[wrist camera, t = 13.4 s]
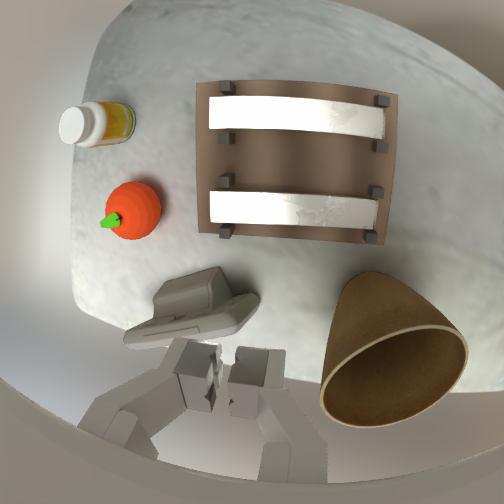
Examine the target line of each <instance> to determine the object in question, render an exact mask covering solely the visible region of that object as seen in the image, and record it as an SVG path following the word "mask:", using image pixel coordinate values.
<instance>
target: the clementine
mask: <svg viewBox="0 0 504 504" xmlns="http://www.w3.org/2000/svg"><path fill="white" fill-rule="evenodd" d="M105 214H106V217H105V218H104V219H103V220H102V221H101V222H100V224H101V227H103V228H111V230H112V231H113V232H114V233H115V234H117V235H118V236H119V237H122V238H124V239H129V240H136V239H140V238H143V237H145V236H147V235H149V234H150V233H151V232H152V231H153V230H154V229H155V227H156V226H157V224H158V222H159V219H160V215H161V204H160V200H159V198H158V196H157V194H156V193H155V191H154V190H153V189H152V188H150V187H149V186H148V185H146V184H143V183H141V182H128V183H124V184H122V185H120V186H119V187H117V188H116V189H115V190H114V191H113V192H112V193H111V195H110V196H109V198H108V200H107V203H106V208H105Z"/></svg>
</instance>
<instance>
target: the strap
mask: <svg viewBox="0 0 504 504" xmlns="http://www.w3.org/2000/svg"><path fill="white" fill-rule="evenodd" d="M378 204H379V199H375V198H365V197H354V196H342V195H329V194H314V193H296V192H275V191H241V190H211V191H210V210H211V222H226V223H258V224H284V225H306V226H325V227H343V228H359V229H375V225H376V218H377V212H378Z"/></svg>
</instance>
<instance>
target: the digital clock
mask: <svg viewBox="0 0 504 504" xmlns="http://www.w3.org/2000/svg"><path fill="white" fill-rule="evenodd" d="M153 303H154V315H153V318H152V319H150V320H148V321H146V322H144V323H141V324H139V325H137V326H135V327H133V328H131V329H129V330H127V331H126V332H125V335H124V338H123V341H124V344H125V345H126V346H128V347H129V348H131V349H132V350H135V349H146V348H154V347H162V346H169V345H170V344H171V342H172V340H173V339H174V338H175V337H177V336H178V337H183V338H188V339H196V340H201V341H202V340H208V339H214V338H219V337H225V336H229V335H233V334H235V333H237V332H238V331H239V330H240V329H241V328H242V327H243V326H244V325H245V323H246V322H247V321H248V320H249V319H250V318H251V317H252V316H253V315H254V313H255V312H256V311H257V309H258V307H259V304H260V300H259V298H258V296H256V295H255V294H253V293H251V292H250V293H246V294H242V295H237V296H233V294H232V292H231V290H230V287H229V285H228V283H227V281H226V279H225V277H224V274H223V272H222V270H221V268H220V267H216V268H212V269H209V270H205V271H202V272H198V273H195V274H192V275H188V276H185V277H181V278H178V279H174V280H171V281H167V282H165V283H164V284H163V285H162V287H161V288H160V289H159V290H158V292H157V293H156V294H155V296H154V298H153Z"/></svg>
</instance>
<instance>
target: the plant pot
mask: <svg viewBox="0 0 504 504" xmlns="http://www.w3.org/2000/svg"><path fill="white" fill-rule="evenodd" d="M467 360H468V346H467V342H466V340H465V339H464V337H463V336H462V334H461V333H460V332H459V331H458V330H457V329H456V328H455V327H454V326H453V324H452V323H451V322H450V321H449V320H448V319H447V318H446V317H445V316H444V315H443V314H442V313H441V312H440V311H439V310H438V309H437V308H435V307H434V306H433V305H432V304H431V303H430V302H429V301H427V300H426V299H425V298H424V297H422V296H421V295H420V294H418V293H417V292H416V291H414V290H413V289H411V288H410V287H408V286H407V285H405V284H403V283H401V282H400V281H398V280H396V279H394V278H392V277H390V276H387V275H385V274H382V273H379V272H365V273H362V274H359V275H357V276H356V277H354V278H353V279H351V280H350V281H349V282H348V283H347V285H346V286H345V288H344V290H343V292H342V294H341V296H340V299H339V302H338V304H337V307H336V310H335V314H334V317H333V320H332V324H331V328H330V333H329V337H328V342H327V347H326V353H325V359H324V366H323V373H322V380H321V388H320V399H319V400H320V405H321V408H322V410H323V411H324V413H325V414H326V415H327V416H328V417H329V418H330V419H332V420H333V421H335V422H337V423H340V424H342V425H346V426H351V427H357V428H374V427H382V426H387V425H392V424H395V423H399V422H402V421H405V420H407V419H410V418H412V417H414V416H416V415H418V414H420V413H422V412H424V411H425V410H427V409H429V408H430V407H432V406H433V405H434V404H436V403H437V402H438V401H440V400H441V399H442V398H443V397H444V396H445V395H446V394H447V393H448V392H449V391H450V390H451V389H452V388H453V387H454V386H455V384H456V383H457V382H458V380H459V379H460V377H461V375H462V373H463V371H464V369H465V367H466V364H467Z"/></svg>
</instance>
